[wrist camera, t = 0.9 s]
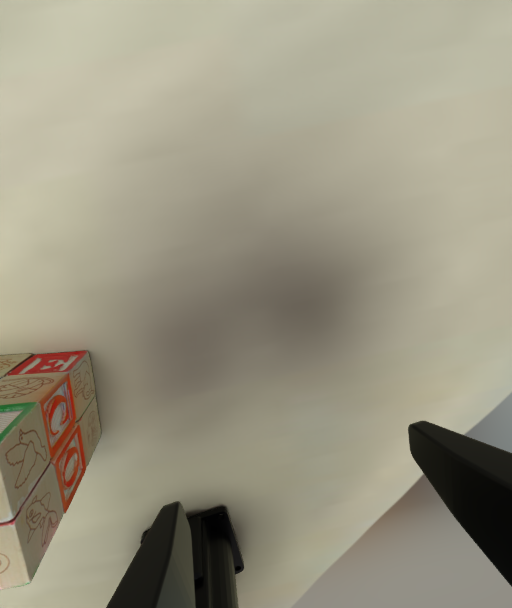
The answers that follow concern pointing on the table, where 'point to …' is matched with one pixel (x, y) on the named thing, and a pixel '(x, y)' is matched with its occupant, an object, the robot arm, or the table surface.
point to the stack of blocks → (41, 452)
